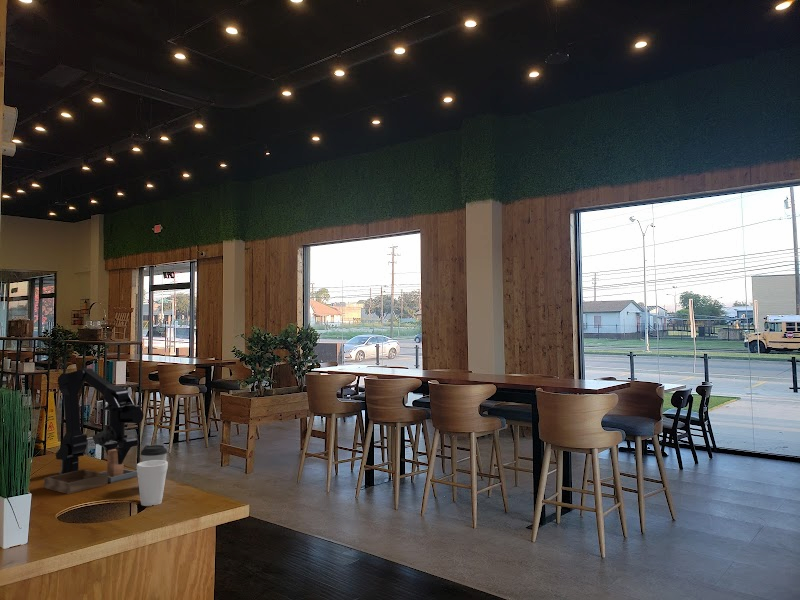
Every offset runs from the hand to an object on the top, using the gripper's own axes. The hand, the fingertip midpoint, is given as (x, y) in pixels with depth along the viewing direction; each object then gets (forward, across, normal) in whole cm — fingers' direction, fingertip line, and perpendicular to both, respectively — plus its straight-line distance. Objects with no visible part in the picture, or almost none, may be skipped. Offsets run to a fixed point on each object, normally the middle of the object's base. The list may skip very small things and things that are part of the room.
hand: (115, 463), depth 222 cm
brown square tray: (+6, -2, -14) cm, 15 cm away
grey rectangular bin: (+6, 0, 0) cm, 6 cm away
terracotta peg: (+5, 0, 0) cm, 5 cm away
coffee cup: (+6, +22, 0) cm, 23 cm away
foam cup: (+6, +37, -12) cm, 39 cm away
